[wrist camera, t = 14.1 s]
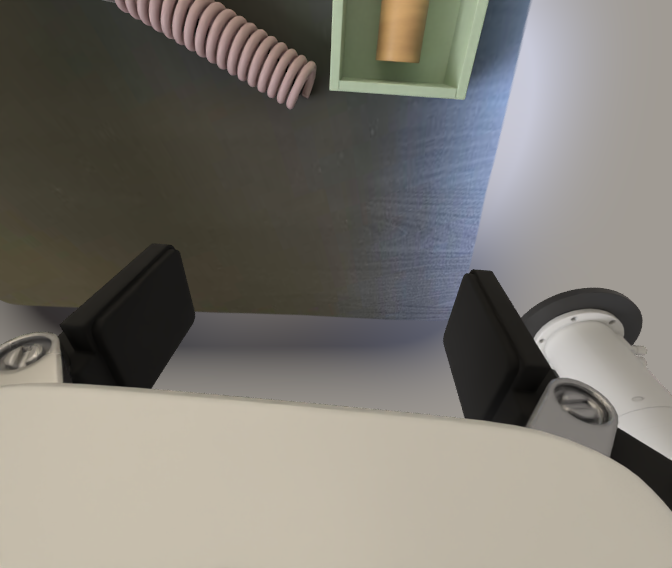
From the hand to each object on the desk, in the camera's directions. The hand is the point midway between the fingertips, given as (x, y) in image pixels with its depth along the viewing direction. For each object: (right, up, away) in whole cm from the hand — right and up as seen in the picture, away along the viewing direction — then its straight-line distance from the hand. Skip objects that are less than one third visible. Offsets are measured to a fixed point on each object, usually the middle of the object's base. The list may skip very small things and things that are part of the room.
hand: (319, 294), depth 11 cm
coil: (-10, +24, +21) cm, 34 cm away
